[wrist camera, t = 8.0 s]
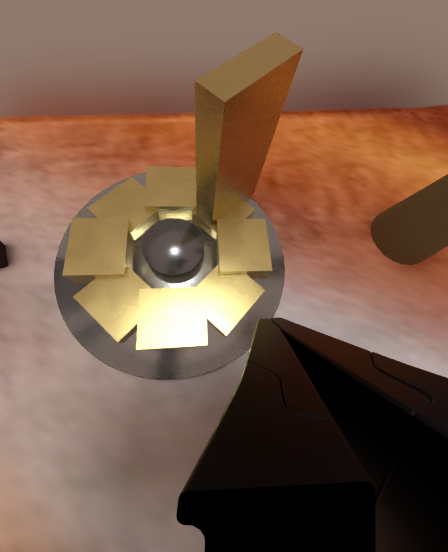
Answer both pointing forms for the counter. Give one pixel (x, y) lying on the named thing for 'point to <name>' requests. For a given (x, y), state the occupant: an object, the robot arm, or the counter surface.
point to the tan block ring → (191, 212)
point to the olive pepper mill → (414, 225)
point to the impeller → (170, 274)
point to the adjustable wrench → (3, 256)
